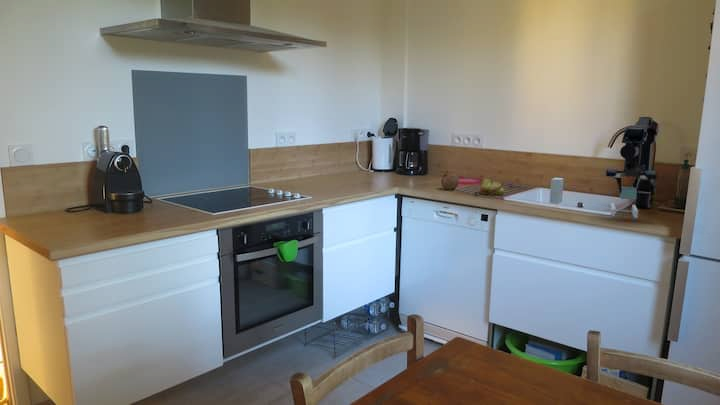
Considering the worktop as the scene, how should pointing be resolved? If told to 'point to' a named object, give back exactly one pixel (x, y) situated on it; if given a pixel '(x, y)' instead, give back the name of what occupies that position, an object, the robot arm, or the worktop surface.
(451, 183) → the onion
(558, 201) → the skincare box
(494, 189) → the green grapes
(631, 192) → the teal block
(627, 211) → the channel
